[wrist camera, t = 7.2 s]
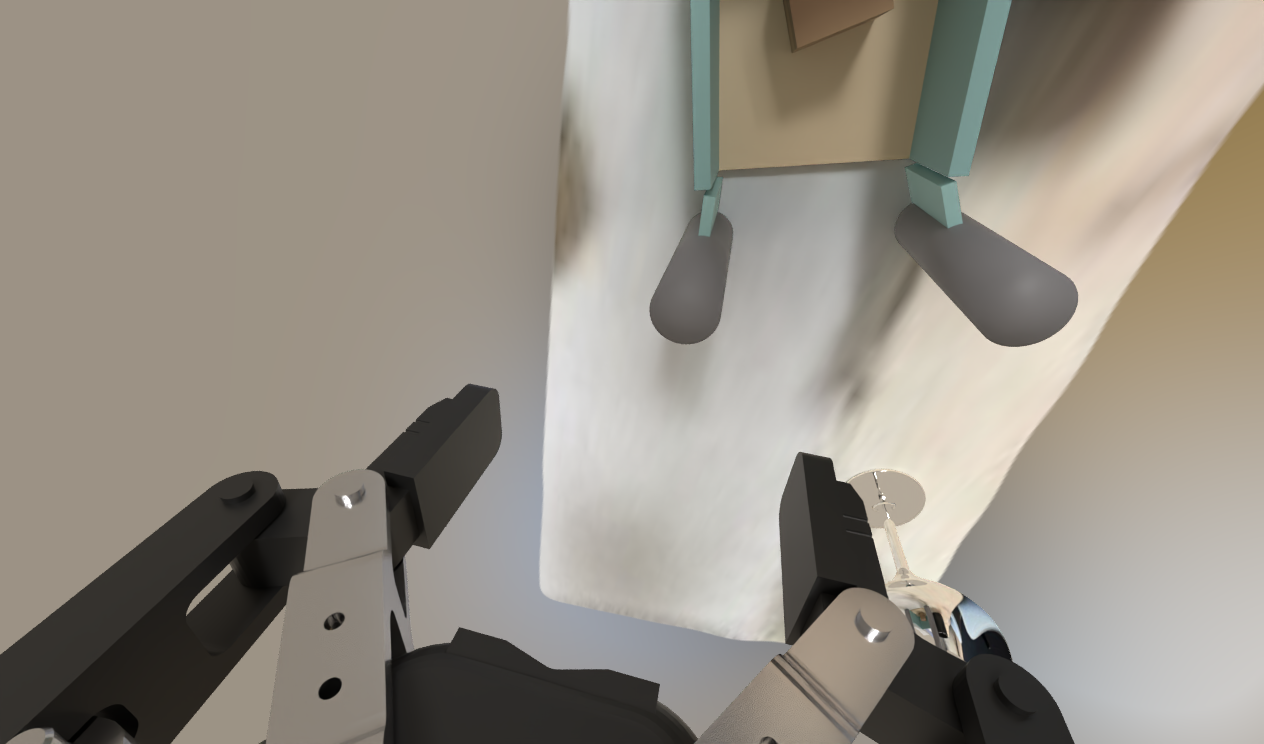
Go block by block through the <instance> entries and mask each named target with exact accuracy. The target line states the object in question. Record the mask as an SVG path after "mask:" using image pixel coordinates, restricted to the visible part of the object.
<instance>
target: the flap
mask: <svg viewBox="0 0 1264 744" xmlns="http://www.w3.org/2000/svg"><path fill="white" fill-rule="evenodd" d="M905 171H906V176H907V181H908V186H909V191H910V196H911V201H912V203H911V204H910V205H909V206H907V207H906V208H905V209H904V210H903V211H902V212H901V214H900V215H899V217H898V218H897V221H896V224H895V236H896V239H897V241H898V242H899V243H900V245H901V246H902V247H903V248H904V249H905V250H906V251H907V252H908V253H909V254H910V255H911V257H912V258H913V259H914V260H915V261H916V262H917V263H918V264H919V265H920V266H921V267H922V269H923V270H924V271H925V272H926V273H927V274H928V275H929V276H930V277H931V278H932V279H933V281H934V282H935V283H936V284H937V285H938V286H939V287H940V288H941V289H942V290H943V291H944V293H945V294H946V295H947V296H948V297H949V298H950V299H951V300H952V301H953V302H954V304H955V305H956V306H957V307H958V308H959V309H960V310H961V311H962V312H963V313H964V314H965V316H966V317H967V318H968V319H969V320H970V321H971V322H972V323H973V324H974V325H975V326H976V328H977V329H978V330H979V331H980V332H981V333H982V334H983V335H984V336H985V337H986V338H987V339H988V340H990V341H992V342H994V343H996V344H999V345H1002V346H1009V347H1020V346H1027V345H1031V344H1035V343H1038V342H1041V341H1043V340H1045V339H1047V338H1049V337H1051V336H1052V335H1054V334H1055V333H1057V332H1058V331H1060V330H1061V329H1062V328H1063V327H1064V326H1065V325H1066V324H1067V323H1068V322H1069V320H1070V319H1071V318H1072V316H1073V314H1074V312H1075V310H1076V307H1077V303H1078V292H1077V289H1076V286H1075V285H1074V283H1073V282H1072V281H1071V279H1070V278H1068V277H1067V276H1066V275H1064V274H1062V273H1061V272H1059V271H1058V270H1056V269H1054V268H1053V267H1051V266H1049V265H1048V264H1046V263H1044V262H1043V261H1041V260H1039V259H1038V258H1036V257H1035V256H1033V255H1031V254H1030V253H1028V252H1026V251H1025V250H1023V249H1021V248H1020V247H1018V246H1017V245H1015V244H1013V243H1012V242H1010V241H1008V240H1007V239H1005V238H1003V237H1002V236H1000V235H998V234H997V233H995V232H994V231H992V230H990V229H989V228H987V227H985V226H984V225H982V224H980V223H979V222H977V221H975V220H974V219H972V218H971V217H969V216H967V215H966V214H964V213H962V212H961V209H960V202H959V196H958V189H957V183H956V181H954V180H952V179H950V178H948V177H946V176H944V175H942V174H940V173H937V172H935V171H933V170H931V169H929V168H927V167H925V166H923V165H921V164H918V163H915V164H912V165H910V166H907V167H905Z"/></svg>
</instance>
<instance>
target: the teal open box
mask: <svg viewBox="0 0 1264 744" xmlns="http://www.w3.org/2000/svg"><path fill="white" fill-rule="evenodd" d="M893 1H894V9H892V10H890V11H888V12H887V13H885V14H883V15H881V16H880V17H878V18H876V19H874V20H872V21H869V22H867V23H865V24H862V25H860V26H857V27H855V28H852V29H850V30H848V31H845V32H843V33H840V34H838V35H835V36H833V37H831V38H828V39H826V40H823V41H821V42H818V43H816V44H814V45H811V46H809V47H806V48H804V49H801V50H799V51H797V52H794V53H792V51H791V45H790V39H789V34H788V28H787V22H786V16H785V11H784V5H783V0H690V10H691V57H692V104H693V151H694V190H711V188H712V185H713V183H714V181H715V179H716V176H717V174H718V172H719V170H735V169H751V168H767V167H783V166H799V165H815V164H831V163H847V162H863V161H879V160H895V159H911V160H913V161H915V162H917V163H920V164H922V165H924V166H926V167H928V168H930V169H932V170H934V171H937V172H939V173H941V174H943V175H945V176H947V177H955V176H969V172H970V168H971V164H972V160H973V156H974V152H975V148H976V144H977V140H978V136H979V132H980V128H981V124H982V119H983V115H984V111H985V107H986V103H987V99H988V95H989V91H990V87H991V83H992V79H993V75H994V71H995V67H996V63H997V59H998V54H999V50H1000V46H1001V42H1002V38H1003V34H1004V30H1005V26H1006V22H1007V18H1008V14H1009V10H1010V6H1011V2H1012V0H893Z"/></svg>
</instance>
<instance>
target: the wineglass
mask: <svg viewBox="0 0 1264 744" xmlns="http://www.w3.org/2000/svg"><path fill="white" fill-rule="evenodd" d="M846 483H850V484H851V485H852V486H853V488H854V489H855V491H856V492H857V493H858V495H859V496H860V497H861V499H862V500H863V502H864V505H865V509H866V513H867V517H868V523H869V525H870V527H873V528H885V531H886V535H887V538H888V542H889V545H890V548H891V552H892V555H893V559H894V563H895V566H896V570H897V572H896V575H895V577H894V578H893V579H892V580H891V581H889V582H887V583H885V587H886V591H887V595H888V598H889V600H890V601H892V602H893V603H894V604H895V605H896V606H897V607H898V608H899V609H900V610H901V611H902V612H903V614H904V615H905V616H906V618H907V619H908V621H909V623H910V625H911V627H912V629H913V632H915V633H916V634H917V635H919V636H920V637H921V638H923V639H924V640H926V641H928V642H929V643H931V644H933V645H935V646H937V647H939V648H941V649H942V650H944V651H946V652H948V653H950V654H952V655H954V656H956V657H957V658H959V659H961V660H963V661H965V662H967V663H968V662H969V661H970V660H971V659H972V658H973V657H974V656H977V655H980V654H992V655H996V656H1000V657H1003V658H1005V659H1008V660H1010V661H1012V657H1011V654H1010V650H1009V647H1008V645H1007V642H1006V640H1005V638H1004V636H1003V634H1002V632H1001V630H1000V629H999V627H998V626H997V624H996V623H995V622H994V621H993V619H992V618H991V617H990V616H989V615H988V614H987V613H986V612H985V611H984V610H983V609H982V608H981V607H980V606H979V605H977V604H976V603H975V602H973V601H972V600H971V599H969V598H968V597H966V596H965V595H963V594H962V593H960V592H958V591H956V590H954V589H952V588H950V587H948V586H945V585H943V584H940V583H937V582H934V581H931V580H927V579H923V578H920V577H918V576H916V575H915V574H913V573H912V572H911V571H910V569H909V567H908V564H907V561H906V558H905V555H904V552H903V549H902V545H901V542H900V539H899V536H898V533H897V530H896V526H899V525H902V524H905V523H907V522H909V521H911V520H912V519H914V518H915V517H916V516H917V515H918V514H919V513H920V512H921V511H922V509H923V507H924V505H925V492H924V490H923V488H922V486H921V485H920V483H919V482H918V481H917V480H916V479H914V478H913V477H911V476H910V475H908V474H906V473H903V472H900V471H896V470H890V469H876V470H870V471H866V472H863V473H860V474H858V475H856V476H854V477H853V478H851V479H850V480H849V481H847V482H846ZM1012 662H1013V661H1012Z"/></svg>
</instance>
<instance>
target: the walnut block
mask: <svg viewBox="0 0 1264 744" xmlns="http://www.w3.org/2000/svg"><path fill="white" fill-rule="evenodd" d="M783 5H784V11H785V16H786V22H787V28H788V34H789V39H790V45H791V51H792V53H794V52H797V51H799V50H801V49H804V48H806V47H809V46H811V45H814V44H816V43H818V42H821V41H823V40H826V39H828V38H831V37H833V36H835V35H838V34H840V33H843V32H845V31H848V30H850V29H852V28H855V27H857V26H860V25H862V24H865V23H867V22H869V21H872V20H874V19H876V18H878V17H880V16H881V15H883V14H885V13H887V12H888V11H890V10H892V9H894V1H893V0H783Z"/></svg>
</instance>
